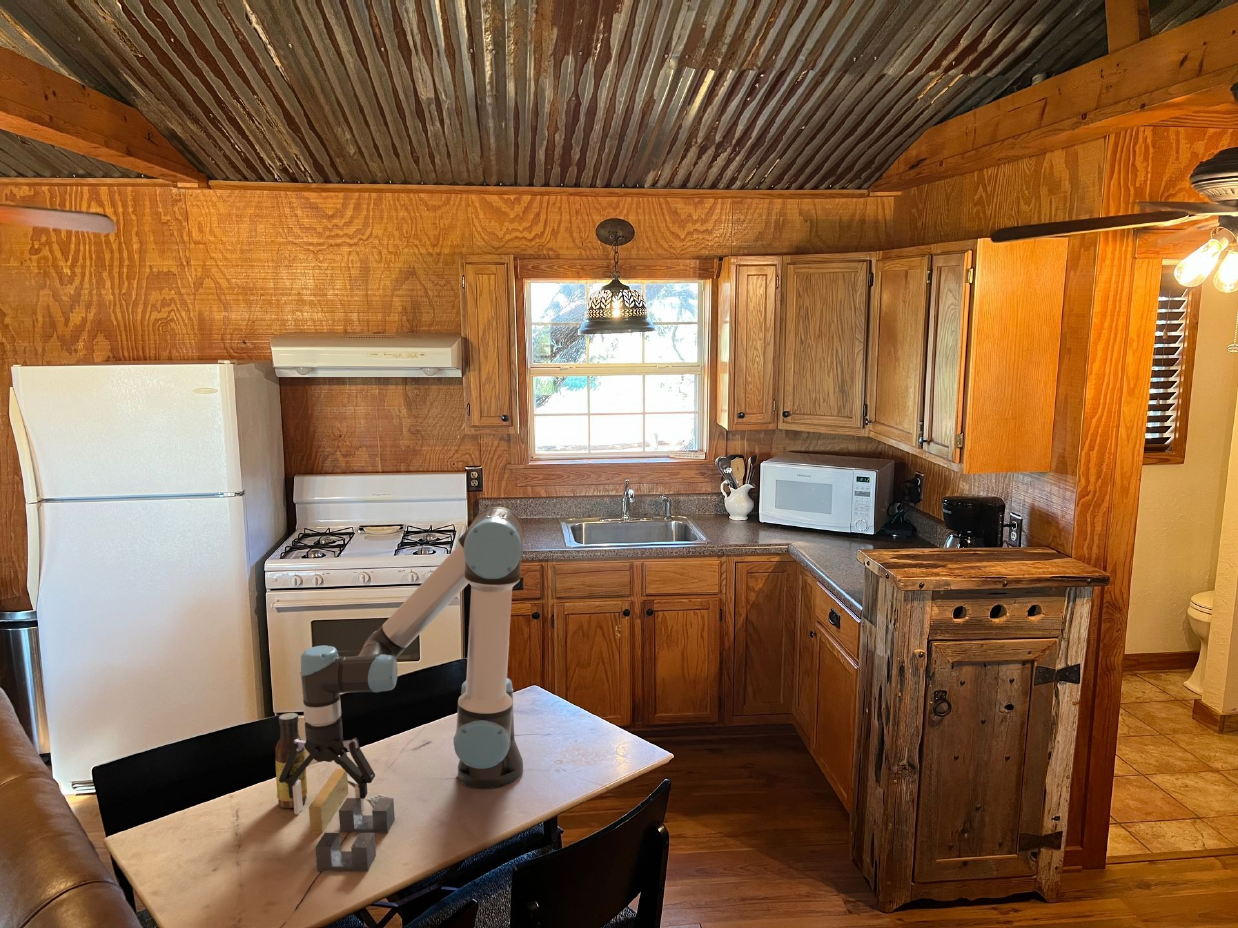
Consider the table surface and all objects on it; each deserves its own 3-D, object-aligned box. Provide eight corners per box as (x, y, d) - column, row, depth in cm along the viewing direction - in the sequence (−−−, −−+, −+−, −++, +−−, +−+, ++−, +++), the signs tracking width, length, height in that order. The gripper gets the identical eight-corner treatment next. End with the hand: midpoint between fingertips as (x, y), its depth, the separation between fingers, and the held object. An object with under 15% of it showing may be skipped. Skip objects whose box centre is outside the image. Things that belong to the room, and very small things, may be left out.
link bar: (348, 793, 200) (346, 768, 200) (322, 833, 185) (320, 806, 184) (337, 793, 201) (335, 768, 200) (310, 833, 185) (308, 806, 184)
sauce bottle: (297, 810, 193) (291, 723, 190) (272, 808, 194) (265, 721, 192) (314, 796, 199) (308, 711, 197) (289, 793, 200) (283, 709, 198)
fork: (337, 766, 213) (336, 759, 213) (390, 803, 196) (389, 795, 196) (324, 771, 211) (324, 764, 211) (377, 808, 194) (376, 801, 194)
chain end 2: (376, 855, 176) (374, 832, 175) (368, 871, 171) (366, 847, 170) (326, 855, 177) (324, 832, 176) (317, 870, 172) (315, 847, 171)
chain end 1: (394, 819, 189) (393, 797, 188) (387, 832, 184) (386, 810, 183) (348, 819, 189) (346, 797, 189) (340, 832, 184) (338, 810, 184)
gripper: (386, 711, 192) (391, 802, 196) (273, 711, 193) (280, 801, 197) (375, 726, 185) (381, 821, 188) (257, 726, 186) (265, 820, 189)
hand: (329, 811), depth 193 cm, fingers open, 13 cm apart
